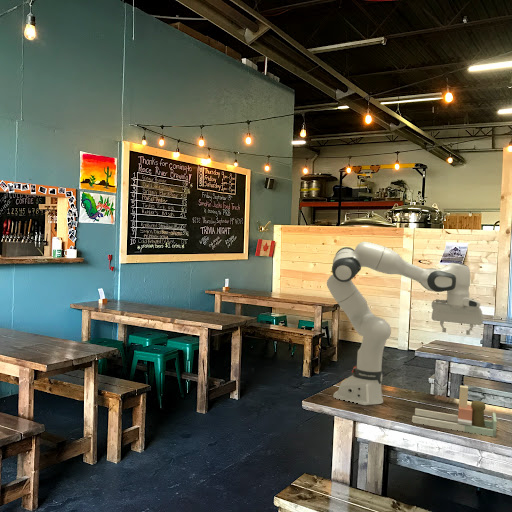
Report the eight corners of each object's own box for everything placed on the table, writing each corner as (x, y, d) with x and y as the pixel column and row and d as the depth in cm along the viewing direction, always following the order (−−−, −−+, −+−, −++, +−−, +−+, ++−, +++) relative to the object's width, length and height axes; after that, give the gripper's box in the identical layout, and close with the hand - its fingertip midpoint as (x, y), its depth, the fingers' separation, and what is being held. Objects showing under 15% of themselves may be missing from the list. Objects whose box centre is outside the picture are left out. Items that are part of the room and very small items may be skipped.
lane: (412, 422, 201) (412, 407, 201) (415, 414, 212) (415, 400, 212) (495, 437, 189) (496, 421, 189) (494, 427, 200) (495, 412, 200)
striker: (457, 429, 194) (459, 389, 194) (458, 419, 206) (460, 382, 206) (471, 432, 192) (473, 392, 192) (471, 422, 204) (473, 384, 204)
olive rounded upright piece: (466, 429, 197) (468, 401, 197) (471, 425, 202) (472, 398, 202) (482, 433, 193) (484, 404, 193) (487, 429, 198) (488, 401, 198)
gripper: (431, 299, 214) (429, 331, 214) (483, 303, 206) (482, 337, 206) (432, 298, 220) (430, 329, 220) (483, 302, 212) (481, 335, 212)
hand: (455, 333), depth 213 cm, fingers open, 8 cm apart
